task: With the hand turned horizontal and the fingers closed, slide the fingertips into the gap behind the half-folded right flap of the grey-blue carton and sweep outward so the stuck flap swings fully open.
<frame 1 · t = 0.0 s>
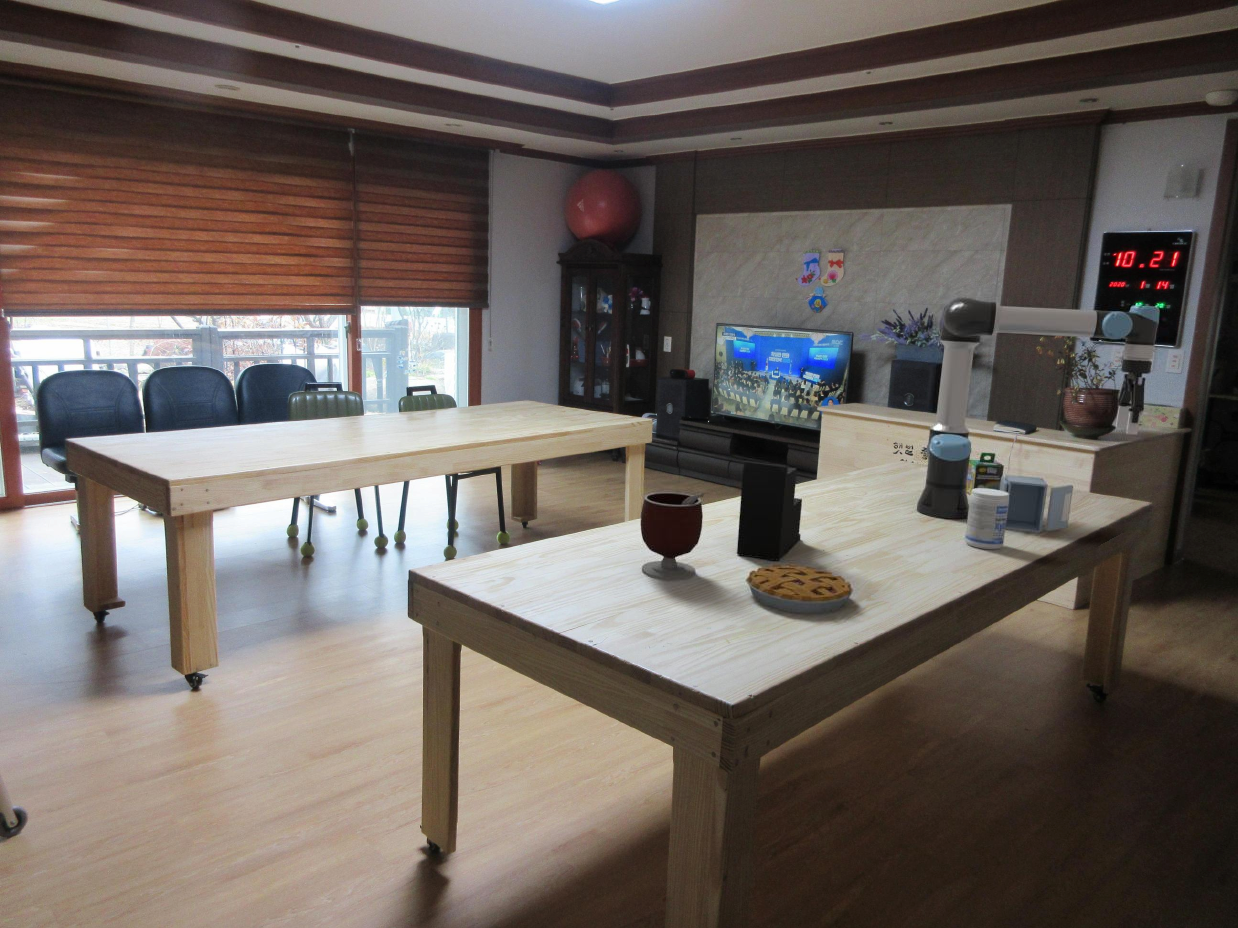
hand: (1126, 431, 264), 28 cm above the table, tool pointing down, fingers open, 13 cm apart
supplement tub: (983, 546, 237), on the table
black stepped block: (769, 548, 225), on the table
pie: (797, 599, 189), on the table
mate gourd: (671, 573, 202), on the table
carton: (1019, 526, 258), on the table
right flap: (1059, 507, 253), point 7 cm above the table, hinge at 40.0°
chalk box: (982, 496, 299), on the table
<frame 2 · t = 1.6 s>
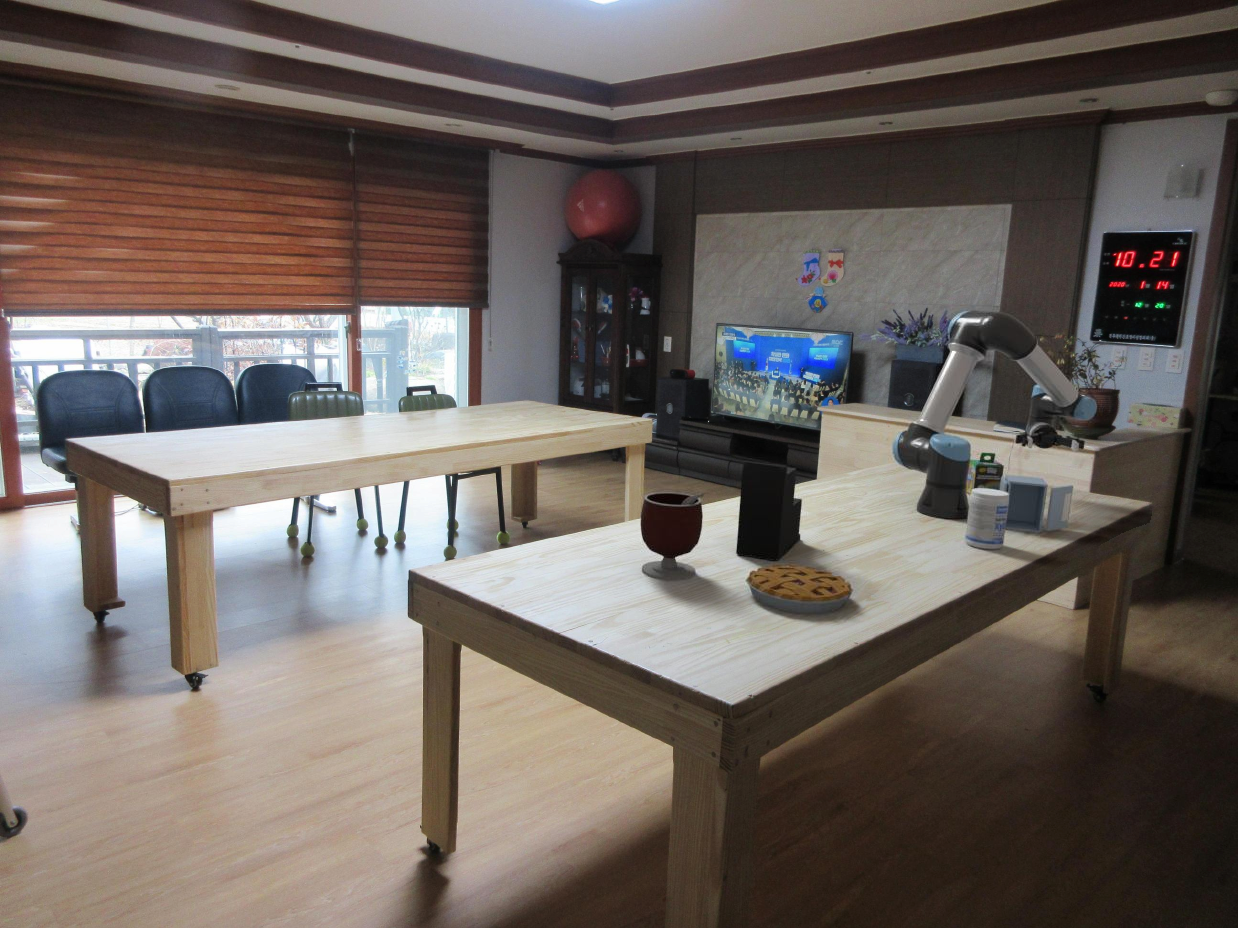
hand: (1053, 445, 268), 22 cm above the table, tool horizontal, fingers open, 12 cm apart
nothing on the table moved.
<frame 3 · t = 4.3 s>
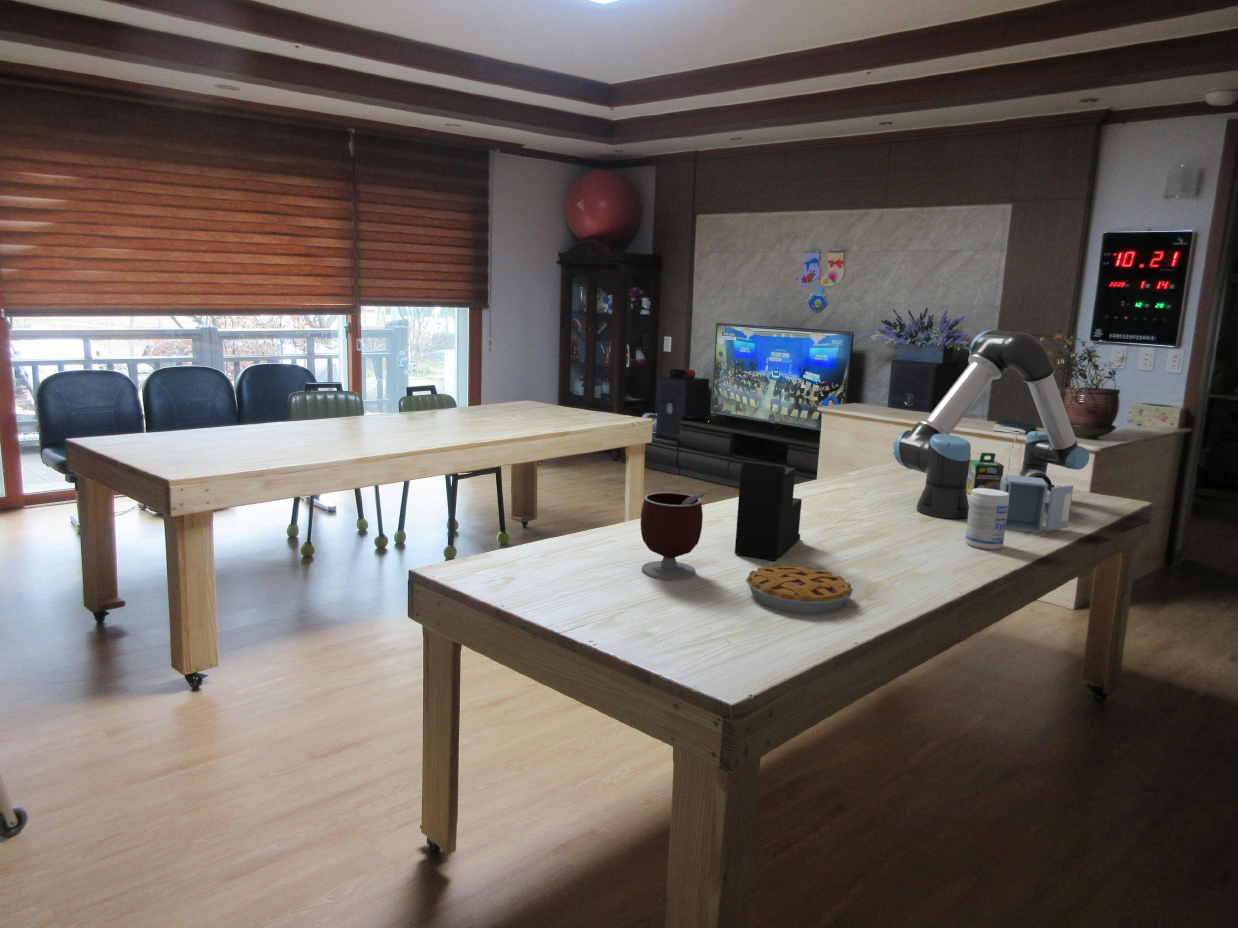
hand: (1048, 498, 268), 6 cm above the table, tool horizontal, fingers closed
nothing on the table moved.
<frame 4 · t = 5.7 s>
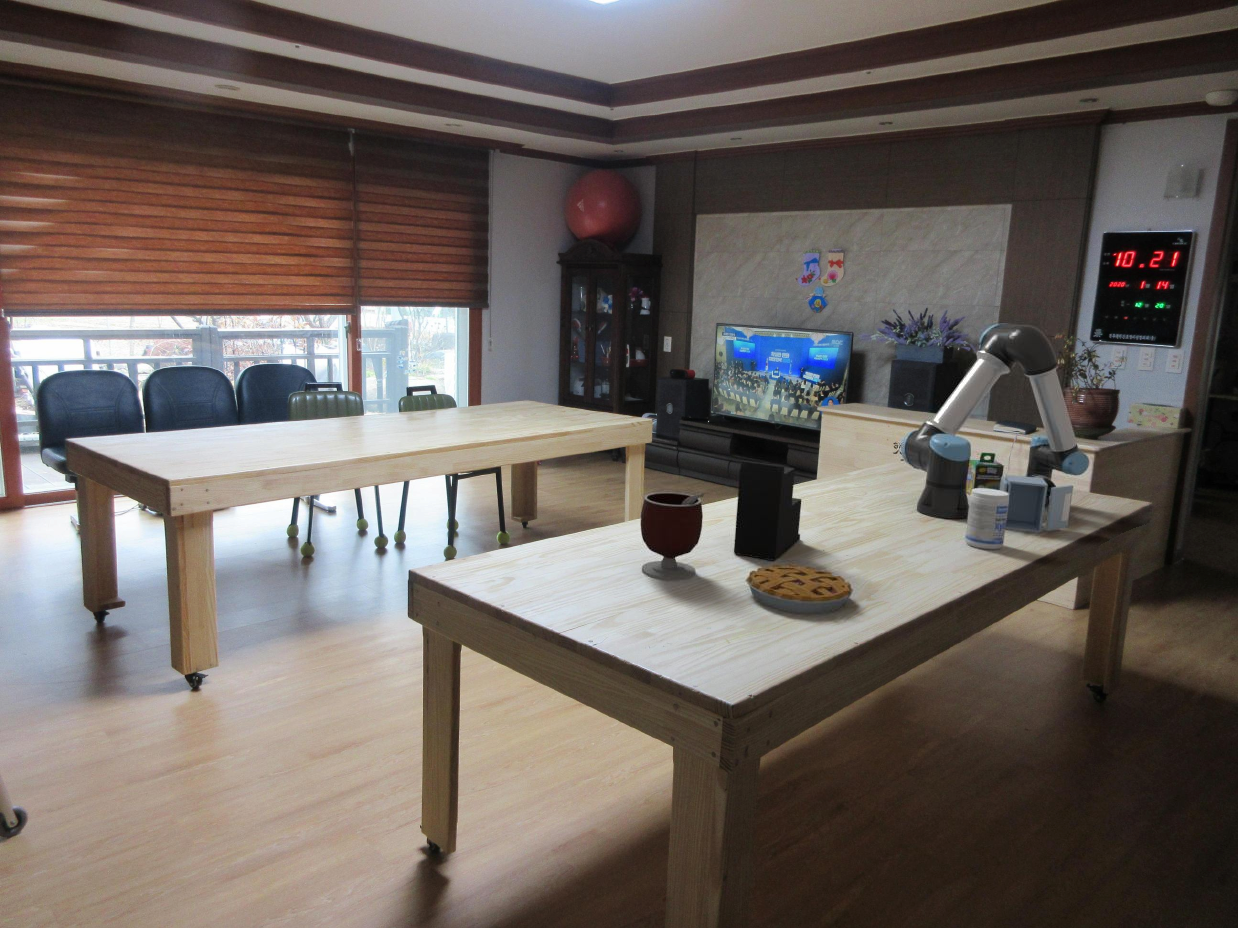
hand: (1055, 505, 259), 6 cm above the table, tool horizontal, fingers closed
nothing on the table moved.
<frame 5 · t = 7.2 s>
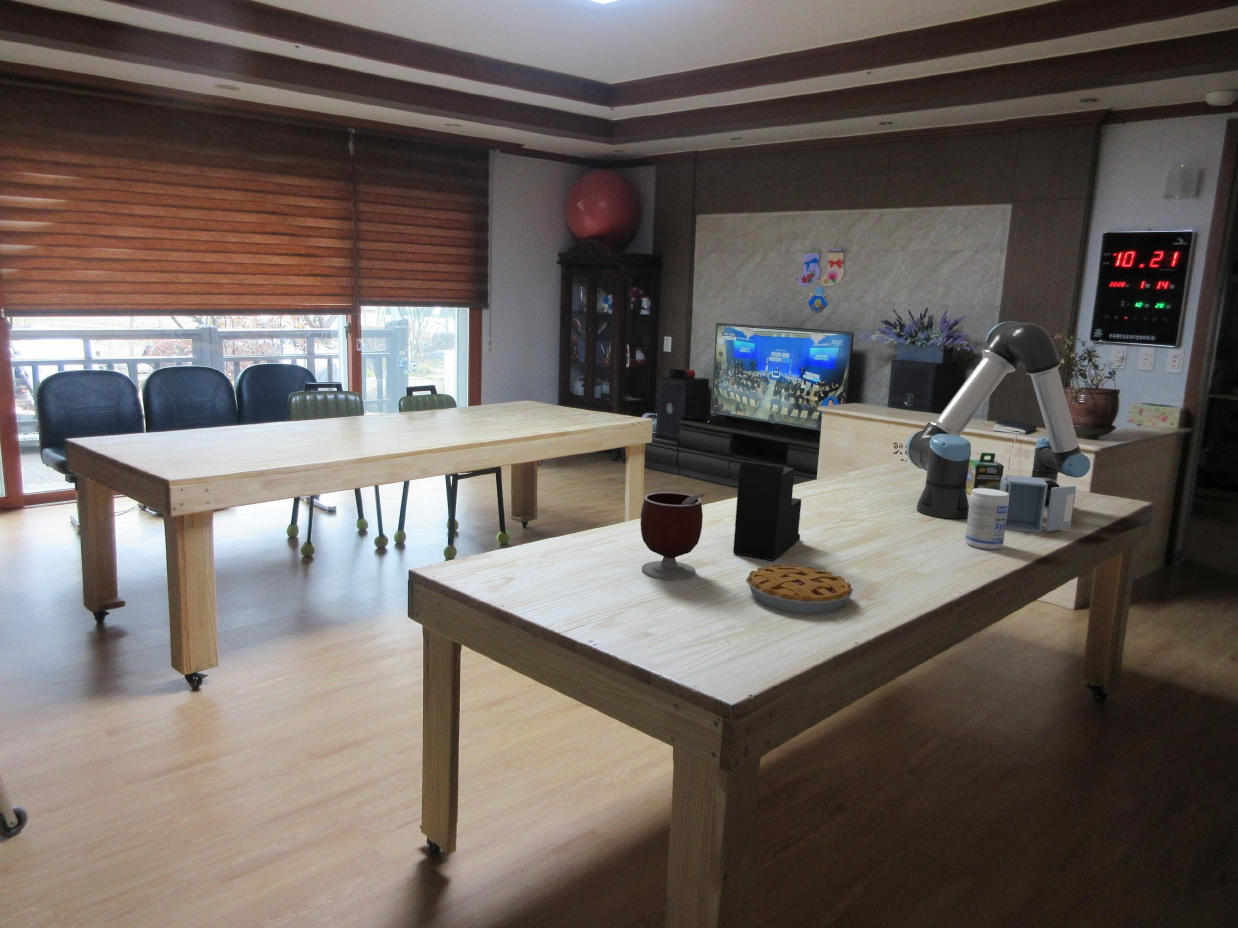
hand: (1061, 508, 255), 6 cm above the table, tool horizontal, fingers closed
right flap: (1060, 508, 253), point 7 cm above the table, hinge at 45.6°, touching gripper
everything else where it was.
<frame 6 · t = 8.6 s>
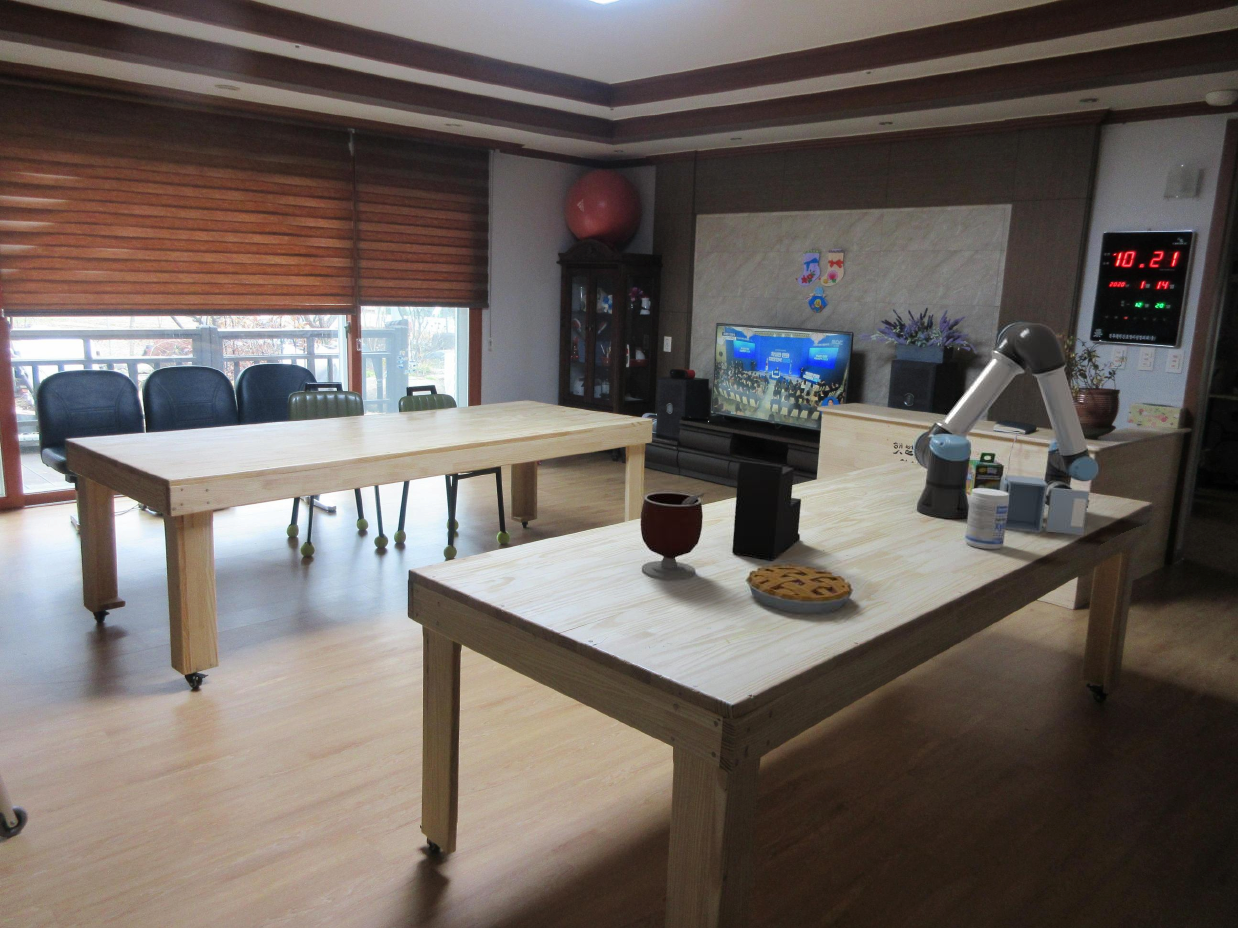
hand: (1074, 513, 250), 6 cm above the table, tool horizontal, fingers closed
right flap: (1067, 511, 249), point 7 cm above the table, hinge at 85.3°, touching gripper
everything else where it was.
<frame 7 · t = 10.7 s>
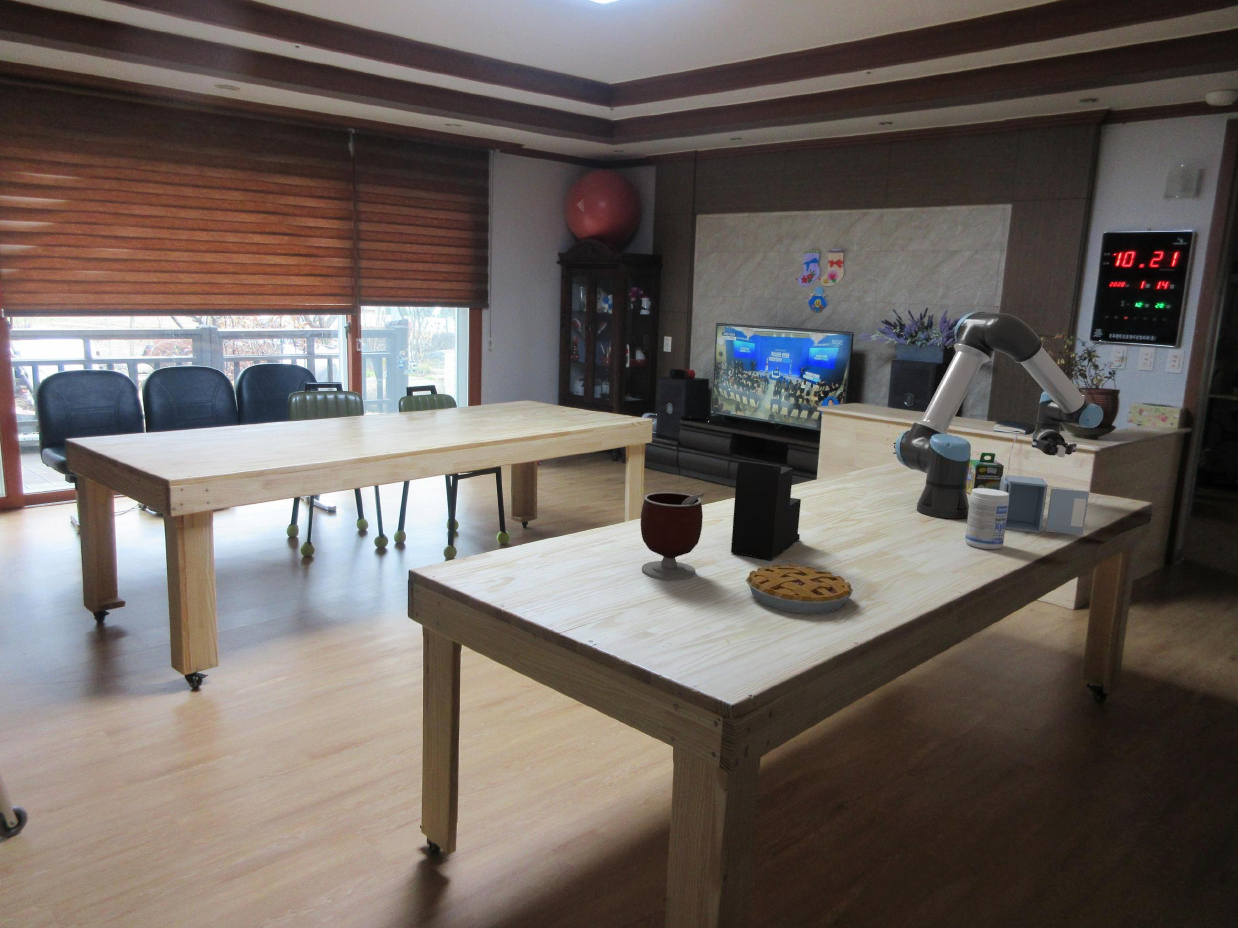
hand: (1062, 452, 263), 21 cm above the table, tool horizontal, fingers closed
right flap: (1067, 511, 249), point 7 cm above the table, hinge at 85.4°
everything else where it was.
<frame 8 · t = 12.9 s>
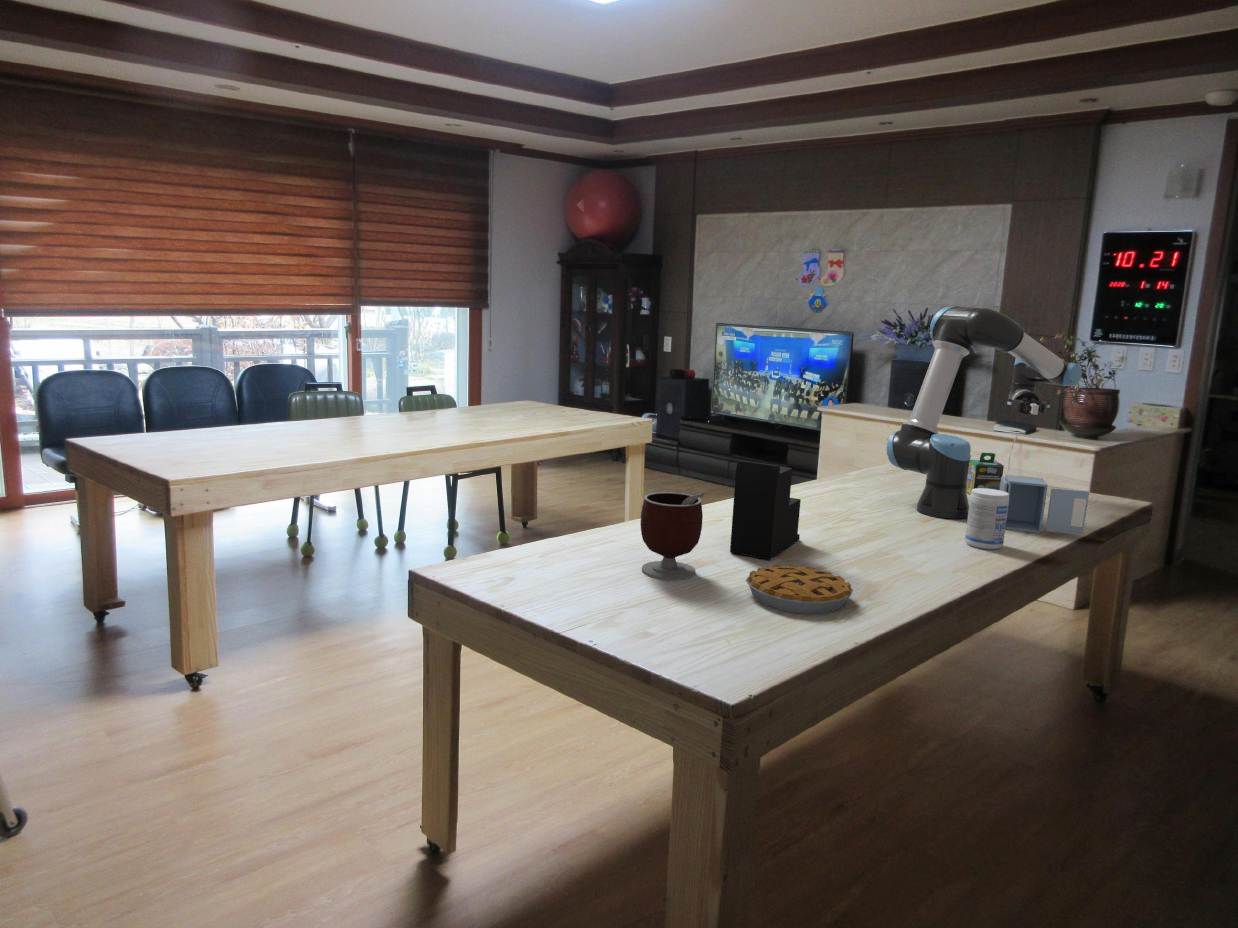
hand: (1035, 410, 271), 32 cm above the table, tool horizontal, fingers closed
at the end: right flap at +85° (first picture: +40°) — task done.
